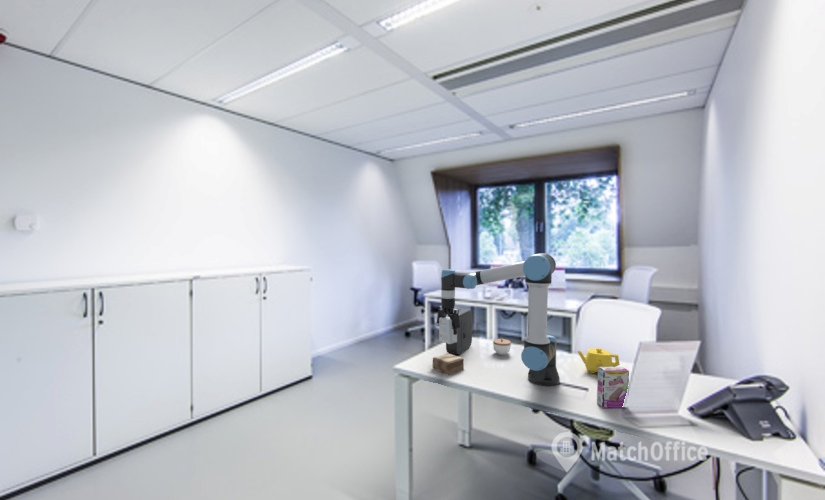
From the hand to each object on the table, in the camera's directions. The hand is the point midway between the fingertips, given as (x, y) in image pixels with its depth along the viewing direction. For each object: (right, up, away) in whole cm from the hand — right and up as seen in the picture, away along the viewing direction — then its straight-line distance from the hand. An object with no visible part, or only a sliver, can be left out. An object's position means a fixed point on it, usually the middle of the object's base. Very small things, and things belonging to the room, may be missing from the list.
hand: (448, 338), depth 192 cm
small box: (0, -2, 0) cm, 2 cm away
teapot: (+80, -17, -5) cm, 82 cm away
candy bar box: (+66, -18, -42) cm, 81 cm away
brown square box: (0, -17, +1) cm, 17 cm away
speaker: (+11, -16, +32) cm, 37 cm away
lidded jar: (+36, -16, +26) cm, 47 cm away
